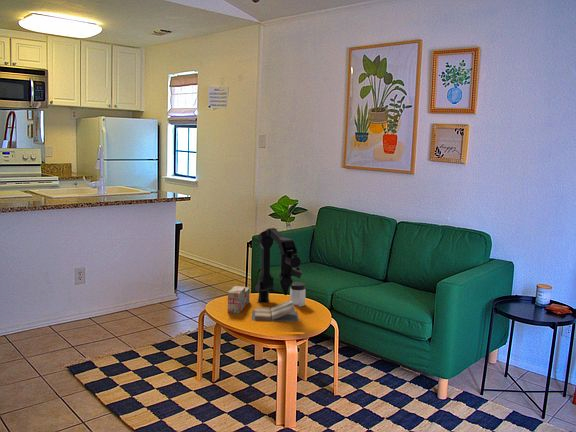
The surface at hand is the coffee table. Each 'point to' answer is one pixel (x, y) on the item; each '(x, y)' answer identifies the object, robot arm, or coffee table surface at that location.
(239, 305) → the stack of blocks
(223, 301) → the coffee table surface
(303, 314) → the coffee table surface
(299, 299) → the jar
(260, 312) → the oak board
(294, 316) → the underlay mat
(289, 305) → the ash plank
